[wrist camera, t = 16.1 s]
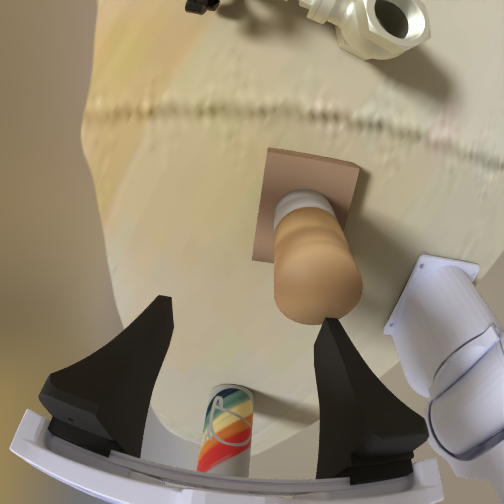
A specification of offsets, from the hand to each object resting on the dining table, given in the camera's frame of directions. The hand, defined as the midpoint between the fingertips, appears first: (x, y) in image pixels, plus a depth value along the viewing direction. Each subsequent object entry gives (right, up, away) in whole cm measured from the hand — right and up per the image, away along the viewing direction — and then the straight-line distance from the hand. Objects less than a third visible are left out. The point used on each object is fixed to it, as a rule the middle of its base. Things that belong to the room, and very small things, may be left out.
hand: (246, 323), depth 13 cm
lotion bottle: (-2, -15, +21) cm, 26 cm away
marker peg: (+4, +6, +6) cm, 9 cm away
